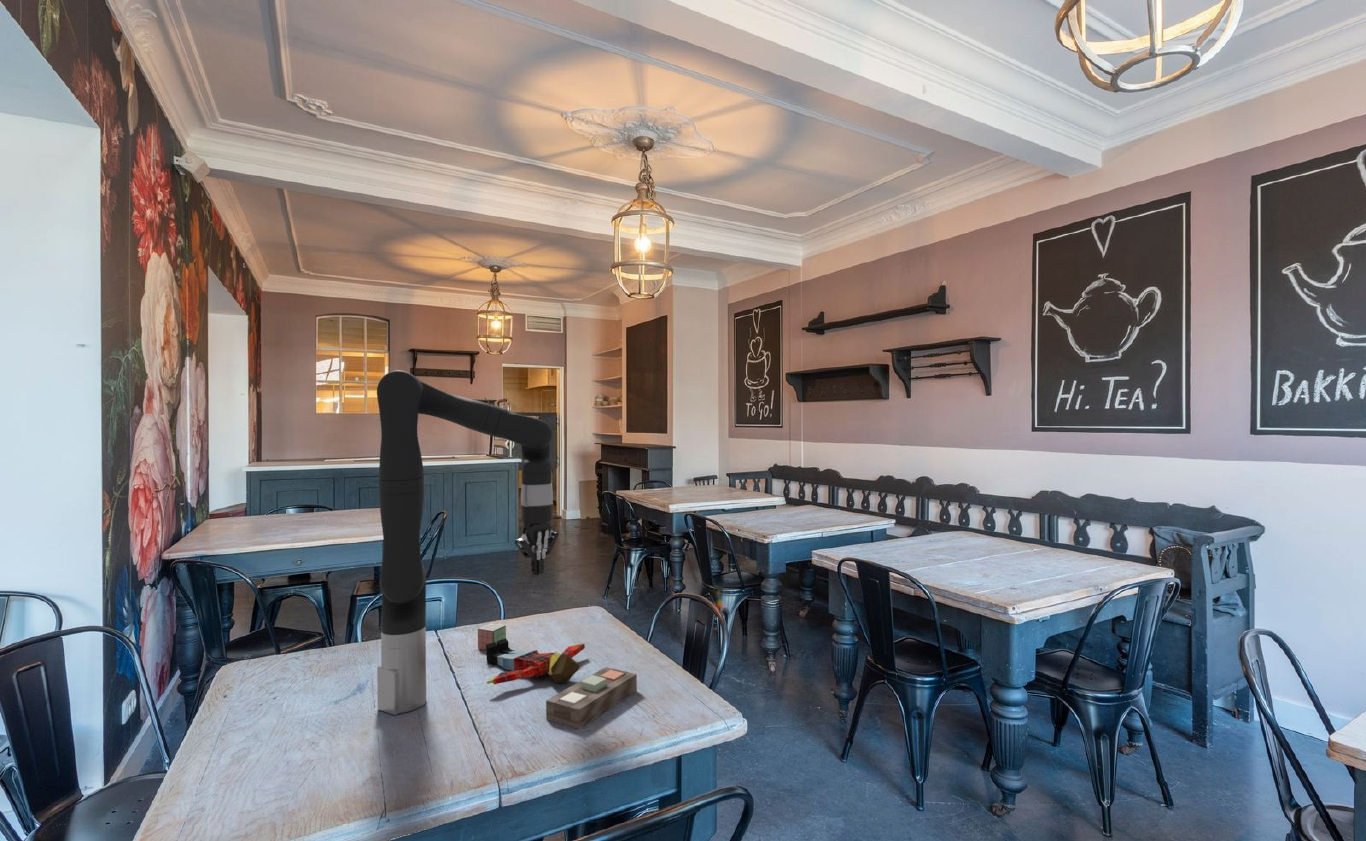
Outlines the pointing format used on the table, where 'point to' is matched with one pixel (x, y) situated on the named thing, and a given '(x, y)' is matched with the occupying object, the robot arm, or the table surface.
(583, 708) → the button board
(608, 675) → the terracotta button
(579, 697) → the cream button
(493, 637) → the puzzle toy
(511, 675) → the toy
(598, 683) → the sage button
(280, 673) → the table surface
